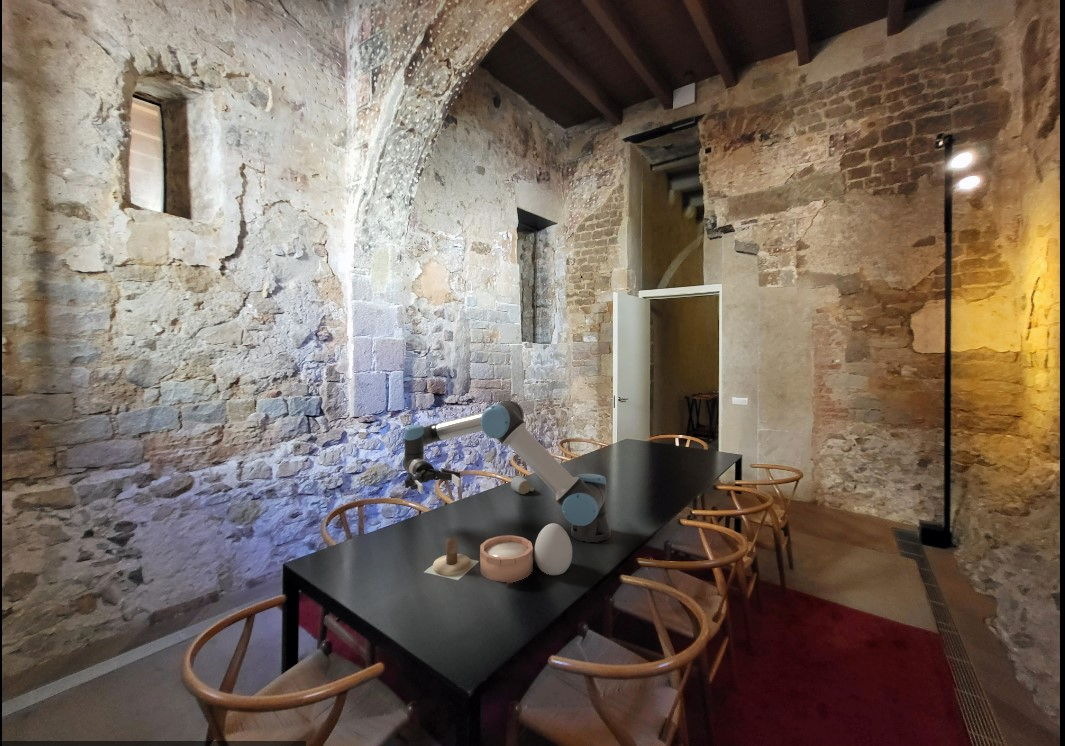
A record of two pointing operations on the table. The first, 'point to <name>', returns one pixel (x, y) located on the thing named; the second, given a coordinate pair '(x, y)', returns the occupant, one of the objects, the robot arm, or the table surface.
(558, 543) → the decorative egg
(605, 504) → the robot arm
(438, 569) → the oak lid
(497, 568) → the terracotta bowl
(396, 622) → the table surface
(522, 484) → the ceramic mug
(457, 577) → the sage mat
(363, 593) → the table surface
